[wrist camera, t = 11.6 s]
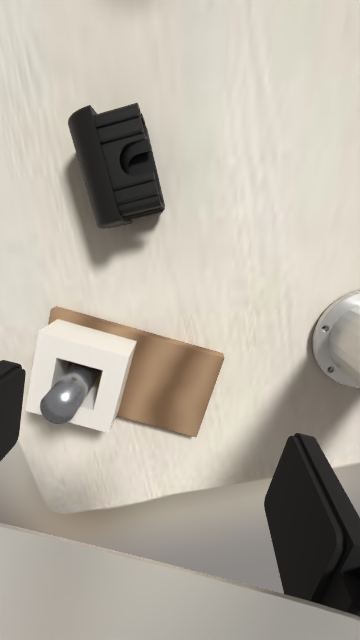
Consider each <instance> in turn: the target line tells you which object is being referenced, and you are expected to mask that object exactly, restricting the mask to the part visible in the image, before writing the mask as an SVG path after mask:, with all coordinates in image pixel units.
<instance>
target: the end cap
mask: <svg viewBox="0 0 360 640" xmlns="http://www.w3.org/2000/svg"><path fill="white" fill-rule="evenodd" d="M140 113H141V112H140V108H139V106H138V103H135V104H131V105H128V106H124V107H121V108H117V109H114V110H110V111H107V112H104V113H100V114H97V113H96V112H95V111H94V109H93V108H92V107H91V106H90V105H89V106H86V107H83V108H81V109H79V110H78V111H76V112H74V113H73V114H72V115H71V116H70V118H69V120H68V126H69V129H70V133H71V136H72V140H73V143H74V146H75V150H76V153H77V157H78V160H79V164H80V167H81V171H82V174H83V177H84V181H85V184H86V188H87V191H88V195H89V198H90V202H91V205H92V208H93V212H94V215H95V219H96V222H97V226H98V227H99V228H110V227H116V226H121V225H125V224H130V223H132V219H135V218H139V217H143V216H147V215H151V214H155V213H159V212H163V210H164V209H165V204H164V200H163V195H162V191H161V187H160V182H159V178H158V174H157V169H156V165H155V161H154V157H153V152H152V148H151V144H150V139H149V135H148V131H147V128H146V125H145V121H144V118H143V115H142V113H141V114H140Z"/></svg>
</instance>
